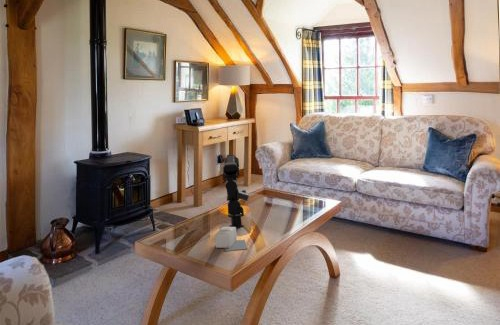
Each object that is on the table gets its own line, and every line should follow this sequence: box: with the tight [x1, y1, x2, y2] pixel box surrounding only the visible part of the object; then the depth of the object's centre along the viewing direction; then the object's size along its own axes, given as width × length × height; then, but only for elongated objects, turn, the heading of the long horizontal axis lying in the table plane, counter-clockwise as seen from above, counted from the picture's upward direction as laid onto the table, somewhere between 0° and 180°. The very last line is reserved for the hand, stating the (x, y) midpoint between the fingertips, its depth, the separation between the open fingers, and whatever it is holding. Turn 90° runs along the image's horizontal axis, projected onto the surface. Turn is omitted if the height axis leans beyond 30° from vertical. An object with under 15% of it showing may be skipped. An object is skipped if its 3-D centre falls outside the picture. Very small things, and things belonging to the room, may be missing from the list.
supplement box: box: [214, 226, 238, 249], centre depth 206 cm, size 7×7×13 cm
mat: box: [224, 239, 248, 252], centre depth 204 cm, size 14×11×1 cm
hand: (234, 216), depth 213 cm, fingers closed
